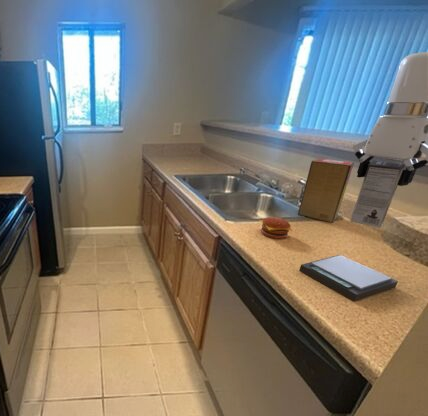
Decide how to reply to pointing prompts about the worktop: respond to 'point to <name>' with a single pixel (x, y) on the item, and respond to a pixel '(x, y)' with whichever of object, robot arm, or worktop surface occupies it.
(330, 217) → the food packaging
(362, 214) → the coffee box
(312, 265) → the scale
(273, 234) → the hamburger
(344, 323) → the worktop surface
